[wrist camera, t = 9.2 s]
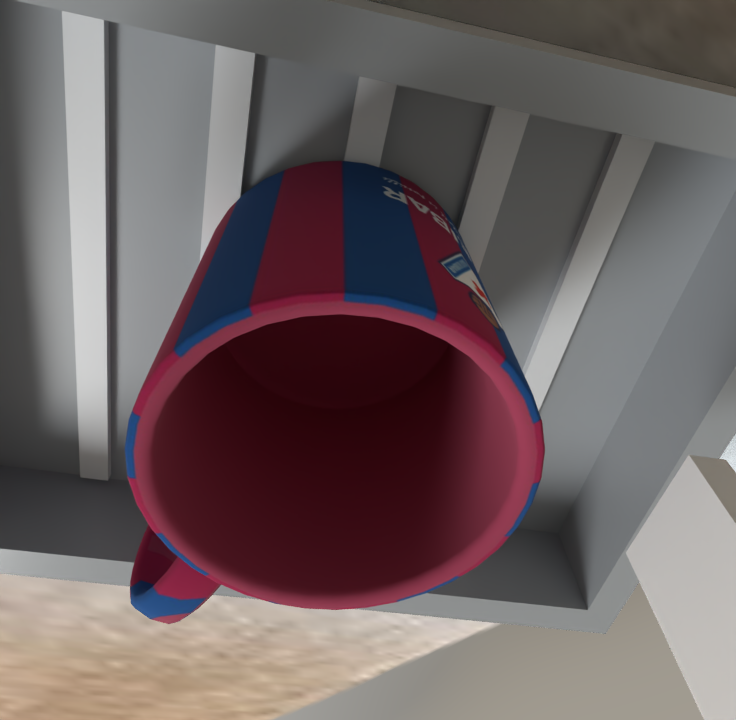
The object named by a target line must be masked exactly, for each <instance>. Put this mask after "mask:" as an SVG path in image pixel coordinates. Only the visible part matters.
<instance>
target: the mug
mask: <svg viewBox="0 0 736 720" xmlns="http://www.w3.org/2000/svg"><path fill="white" fill-rule="evenodd" d="M544 455H545V444H544V433H543V423H542V420H541V417H540V414H539V411H538V408H537V405H536V402H535V399H534V396H533V394H532V391H531V389H530V387H529V385H528V382H527V380H526V378H525V376H524V374H523V371H522V369H521V367H520V365H519V363H518V360H517V358H516V356H515V354H514V352H513V349H512V347H511V345H510V343H509V341H508V338H507V336H506V334H505V332H504V330H503V327H502V325H501V323H500V321H499V319H498V316H497V314H496V312H495V310H494V308H493V305H492V303H491V301H490V299H489V296H488V294H487V292H486V290H485V288H484V285H483V283H482V281H481V279H480V277H479V274H478V272H477V270H476V268H475V266H474V263H473V261H472V259H471V257H470V255H469V252H468V250H467V248H466V246H465V244H464V241H463V239H462V237H461V235H460V233H459V231H458V230H457V228H456V226H455V225H454V223H453V221H452V220H451V218H450V216H449V215H448V214H447V213H446V212H445V210H444V209H443V208H442V207H441V206H440V205H439V204H438V203H437V201H436V200H435V199H434V198H433V197H432V196H430V195H429V194H428V193H426V192H425V191H424V190H423V189H421V188H420V187H419V186H417V185H416V184H415V183H413V182H411V181H410V180H408V179H406V178H404V177H402V176H400V175H398V174H396V173H394V172H392V171H389V170H386V169H383V168H379V167H376V166H373V165H369V164H366V163H357V162H349V161H323V162H312V163H308V164H304V165H300V166H296V167H292V168H288V169H286V170H284V171H281V172H279V173H277V174H275V175H272V176H270V177H268V178H266V179H264V180H263V181H261V182H260V183H258V184H257V185H255V186H254V187H253V188H251V189H250V190H248V191H247V192H245V193H244V194H243V195H242V196H241V197H240V198H239V199H238V200H237V201H236V202H235V203H234V204H233V205H232V206H231V207H230V208H229V210H228V211H227V212H226V214H225V215H224V217H223V218H222V220H221V221H220V223H219V224H218V226H217V228H216V229H215V231H214V233H213V235H212V237H211V240H210V242H209V244H208V246H207V248H206V250H205V252H204V255H203V257H202V259H201V261H200V263H199V265H198V267H197V270H196V272H195V274H194V276H193V278H192V280H191V282H190V285H189V287H188V289H187V291H186V293H185V295H184V297H183V300H182V302H181V304H180V306H179V308H178V310H177V312H176V315H175V317H174V319H173V321H172V323H171V325H170V327H169V330H168V332H167V334H166V336H165V338H164V340H163V342H162V345H161V347H160V349H159V351H158V353H157V355H156V357H155V360H154V362H153V364H152V366H151V368H150V370H149V372H148V375H147V377H146V379H145V381H144V383H143V385H142V387H141V390H140V392H139V394H138V397H137V400H136V402H135V405H134V407H133V410H132V412H131V415H130V417H129V421H128V428H127V435H126V442H125V458H126V468H127V477H128V480H129V483H130V486H131V489H132V492H133V495H134V498H135V501H136V504H137V506H138V507H139V509H140V511H141V512H142V514H143V516H144V517H145V519H146V521H147V523H148V526H147V529H146V531H145V533H144V536H143V538H142V541H141V544H140V546H139V549H138V552H137V555H136V558H135V562H134V566H133V569H132V575H131V580H130V597H131V604H132V605H133V606H134V608H135V609H137V610H138V611H140V612H141V613H143V614H144V615H145V616H147V617H148V618H150V619H152V620H156V621H160V622H163V623H167V624H171V623H175V622H178V621H180V620H182V619H183V618H185V617H186V616H188V615H189V614H191V613H192V612H194V611H195V610H197V609H198V608H199V607H200V606H201V605H202V604H203V603H204V602H205V601H207V600H208V599H209V598H210V597H211V596H212V595H213V594H214V593H215V591H216V590H217V589H218V588H219V587H220V585H223V586H225V587H228V588H230V589H233V590H235V591H237V592H240V593H242V594H244V595H247V596H251V597H254V598H258V599H261V600H265V601H268V602H272V603H275V604H282V605H288V606H294V607H300V608H309V609H331V610H339V609H355V608H367V607H373V606H379V605H384V604H390V603H395V602H399V601H402V600H405V599H409V598H412V597H415V596H419V595H422V594H425V593H428V592H430V591H432V590H434V589H437V588H439V587H441V586H443V585H446V584H448V583H450V582H452V581H454V580H456V579H457V578H459V577H461V576H462V575H464V574H466V573H467V572H469V571H471V570H472V569H474V568H475V567H477V566H478V565H480V564H481V563H482V562H483V561H484V560H486V559H487V558H488V557H489V556H491V555H492V554H493V553H494V552H495V551H497V550H498V549H499V548H500V547H501V546H502V545H503V544H504V542H505V541H506V540H507V539H508V538H509V537H510V536H511V534H512V533H513V532H514V531H515V530H516V529H517V528H518V526H519V525H520V523H521V521H522V520H523V518H524V516H525V515H526V513H527V511H528V510H529V508H530V506H531V505H532V503H533V500H534V497H535V495H536V492H537V489H538V486H539V483H540V481H541V478H542V471H543V463H544Z"/></svg>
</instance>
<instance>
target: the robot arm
mask: <svg viewBox="0 0 736 720" xmlns="http://www.w3.org/2000/svg"><path fill="white" fill-rule="evenodd" d="M626 554H627V557H628V559H629V561H630V563H631V565H632V567H633V569H634V572H635V574H636V576H637V578H638V580H639V582H640V584H641V587H642V589H643V591H644V593H645V595H646V597H647V599H648V601H649V603H650V605H651V608H652V610H653V612H654V614H655V616H656V619H657V621H658V623H659V625H660V627H661V629H662V631H663V634H664V636H665V638H666V640H667V642H668V644H669V646H670V649H671V650H672V653H673V655H674V657H675V659H676V661H677V664H678V665H679V668H680V670H681V672H682V674H683V676H684V678H685V681H686V683H687V685H688V687H689V689H690V691H691V693H692V695H693V698H694V700H695V702H696V704H697V706H698V708H699V711H700V713H701V715H702V717H703V719H704V720H736V473H735V471H734V470H733V469H732V467H731V466H730V465H729V463H728V462H727V461H726V460H723V459H716V458H709V457H702V456H695V455H688V457H687V458H686V460H685V461H684V463H683V464H682V466H681V467H680V469H679V471H678V472H677V474H676V475H675V477H674V478H673V480H672V482H671V483H670V485H669V486H668V488H667V489H666V491H665V492H664V494H663V496H662V497H661V499H660V500H659V502H658V503H657V505H656V506H655V508H654V510H653V511H652V513H651V514H650V516H649V517H648V519H647V520H646V522H645V524H644V525H643V527H642V528H641V530H640V531H639V533H638V534H637V536H636V538H635V539H634V541H633V542H632V544H631V545H630V547H629V548H628V550H627V552H626Z"/></svg>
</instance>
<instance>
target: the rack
mask: <svg viewBox="0 0 736 720" xmlns="http://www.w3.org/2000/svg"><path fill="white" fill-rule="evenodd" d="M323 161H349V162H357V163H366V164H369V165H373V166H376V167H379V168H383V169H386V170H389V171H392V172H394V173H396V174H398V175H400V176H402V177H404V178H406V179H408V180H410V181H411V182H413V183H415V184H416V185H417V186H419V187H420V188H421V189H423V190H424V191H425V192H426V193H428V194H429V195H430V196H432V197H433V198H434V199H435V200H436V201H437V203H438V204H439V205H440V206H441V207H442V208H443V209H444V210H445V212H446V213H447V214H448V215H449V216H450V218H451V220H452V221H453V223H454V225H455V226H456V228H457V230H458V231H459V233H460V235H461V237H462V239H463V241H464V244H465V246H466V248H467V250H468V252H469V255H470V257H471V259H472V261H473V263H474V266H475V268H476V270H477V272H478V274H479V277H480V279H481V281H482V283H483V285H484V288H485V290H486V292H487V294H488V296H489V299H490V301H491V303H492V305H493V308H494V310H495V312H496V314H497V316H498V319H499V321H500V323H501V325H502V327H503V330H504V332H505V334H506V336H507V338H508V341H509V343H510V345H511V347H512V349H513V352H514V354H515V356H516V358H517V360H518V363H519V365H520V367H521V369H522V371H523V374H524V376H525V378H526V380H527V382H528V385H529V387H530V389H531V391H532V394H533V396H534V399H535V402H536V405H537V408H538V411H539V414H540V417H541V420H542V423H543V433H544V444H545V455H544V463H543V471H542V478H541V481H540V483H539V486H538V489H537V492H536V495H535V497H534V500H533V503H532V505H531V506H530V508H529V510H528V511H527V513H526V515H525V516H524V518H523V520H522V521H521V523H520V525H519V526H518V528H517V529H516V530H515V531H514V532H513V533H512V534H511V536H510V537H509V538H508V539H507V540H506V541H505V542H504V544H503V545H502V546H501V547H500V548H499V549H498V550H497V551H495V552H494V553H493V554H492V555H491V556H489V557H488V558H487V559H486V560H484V561H483V562H482V563H481V564H480V565H478V566H477V567H475V568H474V569H472V570H471V571H469V572H467V573H466V574H464V575H462V576H461V577H459V578H457V579H456V580H454V581H452V582H450V583H448V584H446V585H443V586H441V587H439V588H437V589H434V590H432V591H430V592H428V593H425V594H422V595H419V596H415V597H412V598H409V599H405V600H402V601H399V602H395V603H390V604H384V605H379V606H373V607H367V608H355V609H362V610H372V611H382V612H392V613H402V614H412V615H422V616H432V617H442V618H452V619H462V620H472V621H482V622H492V623H502V624H513V625H523V626H533V627H543V628H554V629H563V630H574V631H583V632H593V633H603V634H606V632H607V631H608V629H609V628H610V626H611V625H612V623H613V622H614V620H615V619H616V617H617V615H618V614H619V612H620V611H621V609H622V608H623V606H624V605H625V603H626V601H627V600H628V598H629V597H630V595H631V594H632V592H633V591H634V589H635V587H636V586H637V585H638V583H639V580H638V578H637V576H636V574H635V572H634V569H633V567H632V565H631V563H630V561H629V559H628V557H627V554H626V552H627V550H628V548H629V547H630V545H631V544H632V542H633V541H634V539H635V538H636V536H637V534H638V533H639V531H640V530H641V528H642V527H643V525H644V524H645V522H646V520H647V519H648V517H649V516H650V514H651V513H652V511H653V510H654V508H655V506H656V505H657V503H658V502H659V500H660V499H661V497H662V496H663V494H664V492H665V491H666V489H667V488H668V486H669V485H670V483H671V482H672V480H673V478H674V477H675V475H676V474H677V472H678V471H679V469H680V467H681V466H682V464H683V463H684V461H685V460H686V458H687V457H688V455H695V456H702V457H709V458H716V459H719V458H720V456H721V455H722V453H723V452H724V450H725V449H726V447H727V446H728V444H729V443H730V441H731V440H732V438H733V436H734V435H735V433H736V88H734V87H730V86H726V85H722V84H717V83H713V82H709V81H705V80H701V79H696V78H692V77H688V76H684V75H680V74H675V73H671V72H667V71H663V70H659V69H654V68H650V67H646V66H642V65H638V64H633V63H629V62H625V61H621V60H617V59H612V58H608V57H604V56H600V55H596V54H591V53H587V52H583V51H579V50H575V49H570V48H566V47H562V46H558V45H554V44H549V43H545V42H541V41H537V40H533V39H528V38H524V37H520V36H516V35H512V34H507V33H503V32H499V31H495V30H491V29H486V28H482V27H478V26H474V25H470V24H465V23H461V22H457V21H453V20H449V19H444V18H440V17H436V16H432V15H428V14H423V13H419V12H415V11H411V10H407V9H402V8H398V7H394V6H390V5H386V4H381V3H377V2H373V1H369V0H0V574H10V575H20V576H30V577H40V578H50V579H60V580H70V581H80V582H90V583H100V584H110V585H120V586H130V580H131V575H132V569H133V566H134V562H135V558H136V555H137V552H138V549H139V546H140V544H141V541H142V538H143V536H144V533H145V531H146V529H147V526H148V523H147V521H146V519H145V517H144V516H143V514H142V512H141V511H140V509H139V507H138V506H137V504H136V501H135V498H134V495H133V492H132V489H131V486H130V483H129V480H128V477H127V468H126V458H125V442H126V435H127V428H128V421H129V417H130V415H131V412H132V410H133V407H134V405H135V402H136V400H137V397H138V394H139V392H140V390H141V387H142V385H143V383H144V381H145V379H146V377H147V375H148V372H149V370H150V368H151V366H152V364H153V362H154V360H155V357H156V355H157V353H158V351H159V349H160V347H161V345H162V342H163V340H164V338H165V336H166V334H167V332H168V330H169V327H170V325H171V323H172V321H173V319H174V317H175V315H176V312H177V310H178V308H179V306H180V304H181V302H182V300H183V297H184V295H185V293H186V291H187V289H188V287H189V285H190V282H191V280H192V278H193V276H194V274H195V272H196V270H197V267H198V265H199V263H200V261H201V259H202V257H203V255H204V252H205V250H206V248H207V246H208V244H209V242H210V240H211V237H212V235H213V233H214V231H215V229H216V228H217V226H218V224H219V223H220V221H221V220H222V218H223V217H224V215H225V214H226V212H227V211H228V210H229V208H230V207H231V206H232V205H233V204H234V203H235V202H236V201H237V200H238V199H239V198H240V197H241V196H242V195H243V194H244V193H245V192H247V191H248V190H250V189H251V188H253V187H254V186H255V185H257V184H258V183H260V182H261V181H263V180H264V179H266V178H268V177H270V176H272V175H275V174H277V173H279V172H281V171H284V170H286V169H288V168H292V167H296V166H300V165H304V164H308V163H312V162H323ZM213 595H221V596H231V597H241V598H251V599H258V598H254V597H251V596H247V595H244V594H242V593H240V592H237V591H235V590H233V589H230V588H228V587H225V586H223V585H220V587H219V588H218V589H217V590H216V591H215V593H214V594H213Z"/></svg>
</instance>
